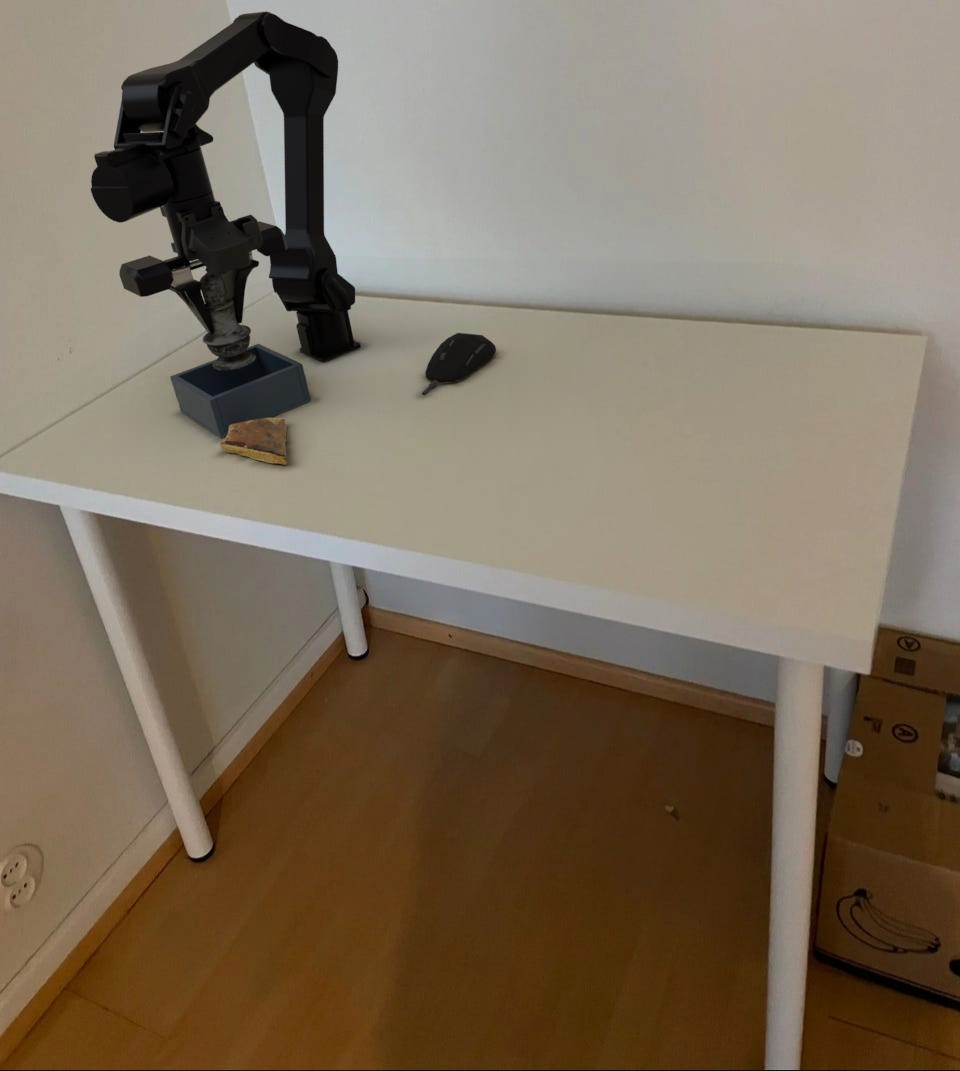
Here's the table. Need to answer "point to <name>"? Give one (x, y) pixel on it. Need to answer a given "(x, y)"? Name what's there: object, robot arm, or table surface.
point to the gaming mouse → (458, 358)
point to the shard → (258, 439)
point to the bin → (241, 390)
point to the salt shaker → (224, 327)
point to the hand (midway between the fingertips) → (224, 327)
